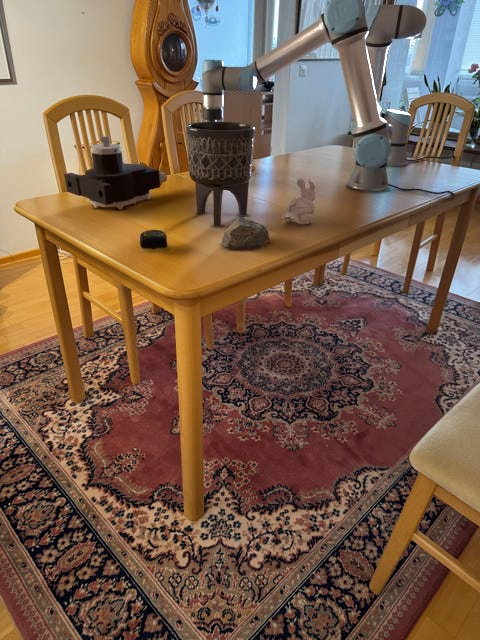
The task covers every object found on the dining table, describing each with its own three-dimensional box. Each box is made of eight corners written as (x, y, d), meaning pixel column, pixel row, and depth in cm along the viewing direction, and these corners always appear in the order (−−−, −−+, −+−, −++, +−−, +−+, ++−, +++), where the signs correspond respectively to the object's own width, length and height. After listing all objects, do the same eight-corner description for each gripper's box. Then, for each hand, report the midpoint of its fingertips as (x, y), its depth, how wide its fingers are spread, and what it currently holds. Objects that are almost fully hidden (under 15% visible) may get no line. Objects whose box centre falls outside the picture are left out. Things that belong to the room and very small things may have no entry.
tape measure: (140, 252, 115) (139, 238, 113) (141, 242, 120) (140, 229, 119) (167, 251, 116) (166, 237, 114) (167, 241, 121) (166, 228, 120)
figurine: (321, 218, 142) (325, 177, 135) (298, 231, 131) (302, 187, 125) (298, 213, 146) (301, 173, 139) (274, 225, 135) (277, 182, 128)
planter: (175, 218, 139) (170, 125, 125) (214, 204, 153) (213, 119, 139) (227, 232, 129) (227, 132, 116) (263, 215, 143) (268, 125, 130)
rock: (255, 233, 128) (256, 211, 124) (276, 242, 122) (278, 219, 119) (217, 244, 120) (217, 220, 117) (239, 254, 115) (239, 230, 111)
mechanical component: (57, 135, 140) (135, 127, 160) (69, 203, 151) (140, 187, 171) (98, 144, 128) (177, 134, 148) (107, 217, 139) (180, 198, 159)
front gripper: (206, 104, 177) (207, 164, 188) (198, 110, 158) (199, 176, 169) (225, 105, 176) (225, 165, 188) (219, 111, 157) (219, 177, 169)
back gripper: (362, 53, 239) (356, 97, 250) (384, 53, 218) (376, 101, 229) (375, 53, 241) (368, 97, 252) (398, 53, 220) (390, 101, 230)
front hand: (213, 170), depth 178 cm, fingers closed on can, 9 cm apart
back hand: (372, 99), depth 240 cm, fingers open, 13 cm apart
